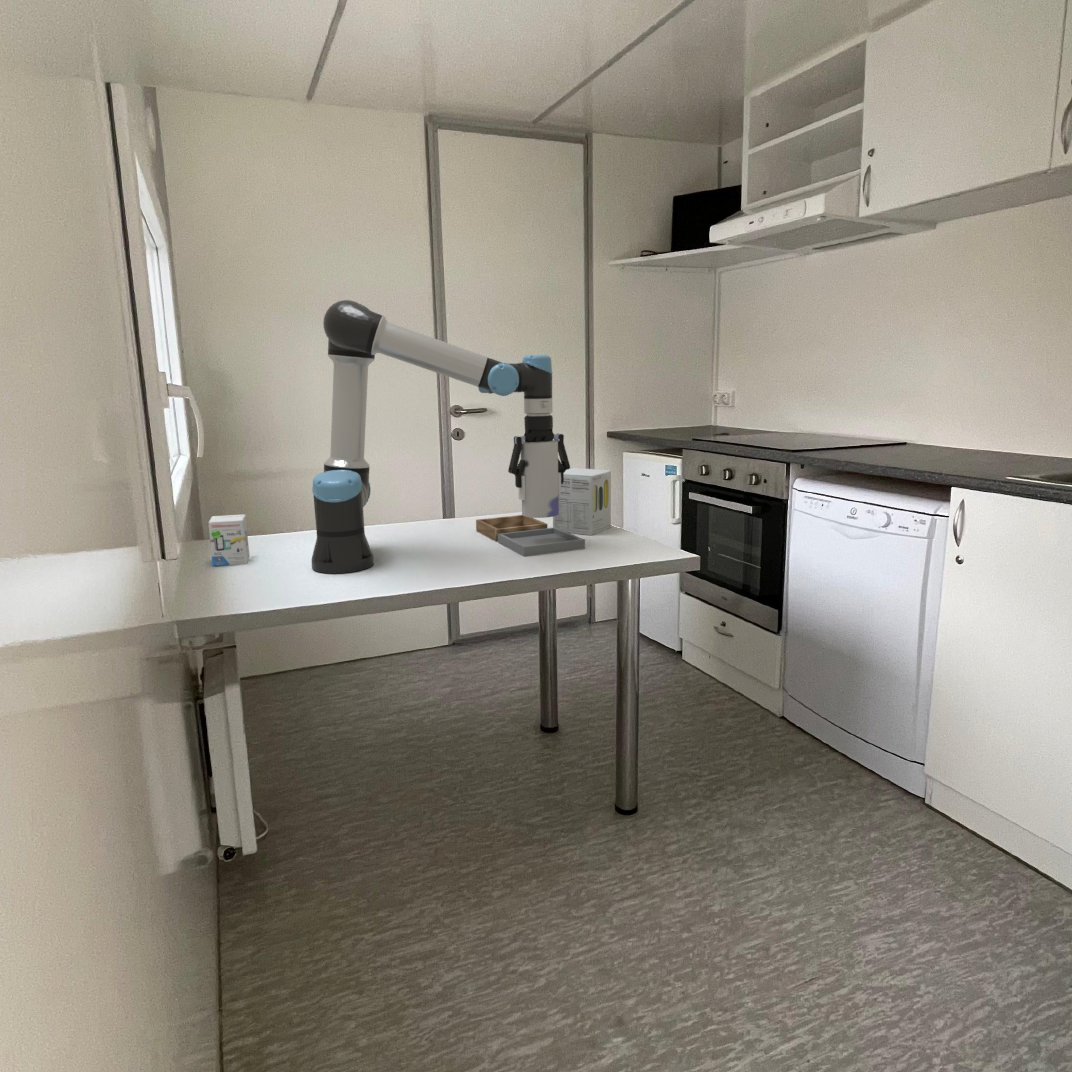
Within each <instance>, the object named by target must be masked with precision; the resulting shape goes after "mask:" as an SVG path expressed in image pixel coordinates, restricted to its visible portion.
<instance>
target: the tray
mask: <svg viewBox="0 0 1072 1072" xmlns="http://www.w3.org/2000/svg"><path fill="white" fill-rule="evenodd" d="M497 543H498V544H500V545H502V546H503V547H505V548H508V549H509V550H511V551H513V552H515V553H517V554H518V555H519V556H522V557H531V556H532V557H533V556H539V555H546V554H547V555H548V554H553V553H563V552H569V551H577V550H578V551H579V550H586V539H585V538H582V537H580V536H578V535H576V534H574V533H568V532H565V531H563V530H561V529H558V528H556V527H553V526H552V527H548V528H545V529H536V530H527V531H518V532H510V533H501V534H498V542H497Z"/></svg>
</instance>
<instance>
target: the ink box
mask: <svg viewBox="0 0 1072 1072" xmlns="http://www.w3.org/2000/svg"><path fill="white" fill-rule="evenodd" d="M207 524H208V533H209V543H210V553H211V554H210V555H211V564H212V567H219V566H220V567H221V566H222V567H223V566H236V565H248V562H249V560H250V547H249V546H250V545H249V538H248V537H249V535H248V526H247V514H243V513H242V514H231V515H228V514H227V515H213V516H211V517H210V519H209V520H208V523H207Z"/></svg>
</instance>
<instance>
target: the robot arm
mask: <svg viewBox="0 0 1072 1072" xmlns="http://www.w3.org/2000/svg"><path fill="white" fill-rule="evenodd" d="M323 316H324V317H323V330H324V333H325V336H326V338H327V339H328V340H327V342H328V345H327V357H329V359H330V360H331V361H332V363H333V370H332V371H333V373H332V375H333V376H332V377H333V379H332V399H331V400H332V401H331V402H332V403H331V430H330V456H329V457H328V458H327V459H326V460H325V461H324V462H323V472H320V473H318V474H316V475H315V476H314V477H313V478H312V479H313V480H312V488H311V490H312V494H313V506H314V507H313V508H314V519H315V530H316V540H315V544H314V548H313V552H312V556H311V569H312V570H313V571H315V572H317V573H323V574H324V573H325V574H345V573H346V574H347V573H354V572H359V571H363V570H367V569H369V568H371V567H372V566H374V564H375V562H374V561H375V559H374V553H373V551H372V548H371V547H370V544H369V541H368V539H367V536H366V534H365V533H366V532H365V520H364V519H365V516H364V507H365V506H366V504H367V503H368V502H369V499H370V496H371V483H370V464H369V463H368V461H367V460H366V459H365V448H366V447H365V445H366V443H365V441H366V439H365V438H366V423H367V422H366V421H367V420H366V418H367V402H368V399H367V398H368V382H369V381H368V379H369V367H370V366H371V364H372V363H373V362H375V356H376V355H377V354H381V355H384V356H387V357H390V358H393V359H395V360H399V361H402V362H405V363H406V364H407V363H408V364H410V365H414V366H415V367H419V368H422V369H425V370H428V371H431V372H432V373H433V372H434V373H437V374H439V375H443V376H445V377H448V378H451V379H454V380H456V381H460V382H463V383H466V384H469V385H471V386H475V387H477V388H478V391H479V392H480V393H482V394H491V395H492V394H495V395H498V396H501V397H506V396H509V395H512V394H513V393H523V411H524V412H523V413H524V414H525V416H524V417H523V419H524V420H523V421H524V434H523V435H522V436H521V435H520V436H517V435H516V436H514V437H513V449H512V453H511V457H510V460H509V461H510V462H509V465H508V470H507V471H508V473H509V474H512V475H514V478H515V481H514V483H515V487H516V488H518V499H519V500H521V501H522V500H525V476H523V475H522V473H523V471H524V469H525V460H522V459H521V448H522V444H523V442H524V441H525V442H542V441H545V442H547V441H552V440H554V441H558V497H561V484H563V482H564V472H565V471H566V470H568V469H571V465H570V461H569V458H568V454H567V450H566V446H565V443H564V442H565V441H564V437H565V435H564V434H563V433H556V434H555V433H554V431H553V427H554V420H553V419H554V416H553V415H552V413H553V411H554V410H553V408H554V407H553V368H552V366H553V365H552V358H551V357H550V355H549V354H533V355H531V354H530V355H524V356H523V358H522V362H517V363H507V362H502V361H500V360H497V359H495V358H494V359H493V358H490V357H487V356H485V355H482V354H479V353H477V352H473V351H471V350H468V349H465V348H463V347H459V346H456V345H454V344H451V343H448V342H447V341H446V342H445V341H443V340H441V339H437V338H434V337H432V336H428V335H426V334H423V333H420V332H418V331H415V330H412V329H409V328H407V327H405V326H404V327H403V326H400V325H398V324H395V323H392V322H389V321H388V320H387V318H386V316H385V315H382V314H380V313H377V312H374V311H373V310H370V309H369V308H368V307H366V306H365V305H364V304H362V303H358V302H357V301H355V300H349V299H345V300H344V299H343V300H340V301H336V302H334V303H333V304H332V305H331V306H329V307H328V309H327V310H326V312H325V314H324V315H323Z"/></svg>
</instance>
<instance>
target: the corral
mask: <svg viewBox="0 0 1072 1072" xmlns="http://www.w3.org/2000/svg"><path fill="white" fill-rule="evenodd" d="M475 527H476V529H475V531H476V532H477V533H479V534H481V535H482V536H485V537H487V538H488V539H490V540H492V541H494V542H496V543H498V534H501V533H510V532H518V531H527V530H536V529H545V528H549V527H548V523H546V522H544V521H541V520H539V519H538V518H537V519H536V518H531V517H525V516H523V515H522V514H519V515H518V514H517V515H508V516H499V517H489V518H482V519H475Z"/></svg>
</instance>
